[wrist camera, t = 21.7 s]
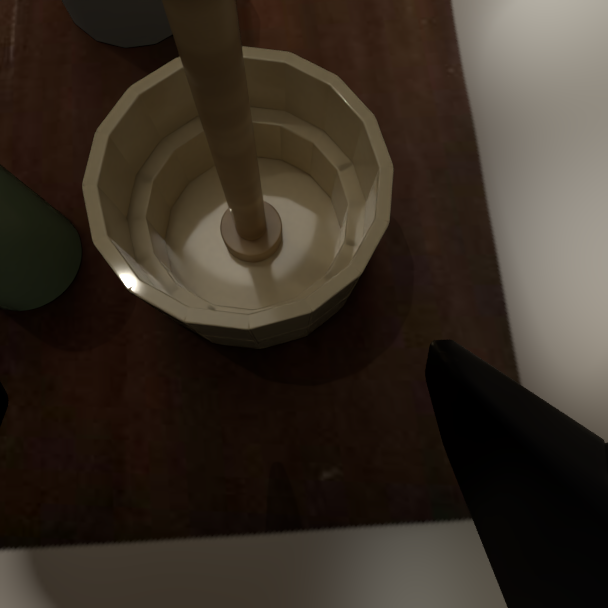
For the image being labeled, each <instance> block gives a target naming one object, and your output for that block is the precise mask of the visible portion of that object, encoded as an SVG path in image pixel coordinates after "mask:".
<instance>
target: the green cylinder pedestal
mask: <svg viewBox="0 0 608 608" xmlns="http://www.w3.org/2000/svg"><path fill="white" fill-rule="evenodd" d="M81 257H82V248H81V241H80V237H79V235H78V232H77V230H76V229H75V227H74V225H73V224H72V223H71V222H70V221H69V220H68V219H67V218H66V217H65V216H64V215H63V214H61V213H60V212H59V211H58V210H56V209H55V208H54V207H53V206H51V205H50V204H49V203H48V202H47V201H45V200H44V199H43V198H42V197H40V196H39V195H38V194H37V193H35V192H34V191H33V190H32V189H30V188H29V187H28V186H27V185H25V184H24V183H23V182H22V181H20V180H19V179H18V178H17V177H15V176H14V175H13V174H12V173H11V172H9V171H8V170H7V169H6V168H4V167H3V166H2V165H1V164H0V308H1V309H6V310H11V311H23V310H30V309H35V308H38V307H41V306H43V305H45V304H47V303H49V302H51V301H53V300H54V299H56V298H57V297H58V296H60V295H61V294H62V293H63V292H64V291H65V290H66V289H67V288H68V287H69V285H70V284H71V283H72V281H73V280H74V278H75V276H76V274H77V272H78V269H79V266H80V263H81Z"/></svg>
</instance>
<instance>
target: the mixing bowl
mask: <svg viewBox="0 0 608 608" xmlns="http://www.w3.org/2000/svg"><path fill="white" fill-rule="evenodd" d="M242 51H243V58H244V65H245V72H246V80H247V87H248V94H249V101H250V109H251V116H252V123H253V130H254V138H255V145H256V152H257V159H258V167H259V174H260V181H261V188H262V196H263V201H266V202H267V203H269V204H271V205H272V206H273V207H274V208H275V209H276V210H277V212H278V214H279V215H280V218H281V222H282V241H281V244H280V246H279V248H278V249H277V251H276V252H275V253H274V254H273V255H272V256H271V257H269V258H267V259H265V260H263V261H259V262H245V261H242V260H240V259H238V258H236V257H234V256H233V255H232V254H231V253H230V252H229V251H228V249H227V247H226V245H225V243H224V241H223V238H222V236H221V231H220V224H221V219H222V217H223V215H224V213H225V211H226V210H227V209H228V208H229V207H228V204H227V201H226V198H225V194H224V191H223V188H222V185H221V182H220V179H219V176H218V173H217V170H216V167H215V164H214V160H213V157H212V154H211V151H210V148H209V145H208V142H207V139H206V136H205V133H204V130H203V126H202V123H201V120H200V117H199V114H198V111H197V108H196V105H195V102H194V99H193V96H192V92H191V89H190V86H189V83H188V80H187V77H186V74H185V71H184V68H183V65H182V62H181V58H180V57H178V58H175V59H173V60H172V61H170V62H168V63H167V64H165V65H164V66H162V67H160V68H159V69H157V70H156V71H154V72H152V73H151V74H149V75H147V76H146V77H144V78H143V79H141V80H139V81H138V82H136V83H135V84H133V85H131V86H130V88H128V89H127V90H126V92H125V93H124V94H123V96H122V97H121V98H120V100H119V101H118V102H117V104H116V105H115V106H114V108H113V109H112V110H111V111H110V113H109V114H108V115H107V117H106V118H105V119H104V121H103V122H102V123H101V125H100V126H99V127H98V129H97V130H96V132H95V135H94V139H93V143H92V147H91V151H90V155H89V159H88V163H87V167H86V171H85V175H84V179H83V183H82V189H83V195H84V200H85V205H86V210H87V215H88V220H89V225H90V230H91V236H92V241H93V243H94V245H95V246H96V248H97V249H98V250H99V252H100V253H101V255H102V256H103V257H104V259H105V260H106V261H107V263H108V264H109V265H110V267H111V268H112V270H113V271H114V272H115V274H116V275H117V276H118V278H119V279H120V280H121V282H122V283H123V285H124V286H125V287H126V289H127V290H128V291H130V292H131V293H132V294H134V295H135V296H137V297H138V298H140V299H141V300H143V301H144V302H146V303H147V304H149V305H150V306H152V307H153V308H155V309H156V310H158V311H159V312H161V313H162V314H164V315H165V316H167V317H168V318H170V319H171V320H173V321H174V322H176V323H178V324H180V325H181V326H183V327H185V328H187V329H189V330H190V331H192V332H194V333H196V334H197V335H199V336H201V337H203V338H204V339H206V340H208V341H210V342H211V343H215V344H221V345H229V346H238V347H246V348H255V349H260V348H261V349H263V348H267V347H270V346H274V345H277V344H281V343H285V342H288V341H292V340H295V339H299V338H302V337H305V336H307V335H309V334H310V333H311V332H313V331H314V330H315V329H316V328H318V327H319V326H320V325H321V324H323V323H324V322H325V321H326V320H328V319H329V318H330V317H332V316H333V315H334V314H335V313H337V312H338V311H339V310H340V309H341V308H342V307H343V306H344V304H345V302H346V301H347V299H348V297H349V295H350V294H351V292H352V290H353V288H354V287H355V285H356V283H357V281H358V280H359V278H360V276H361V275H362V273H363V271H364V269H365V267H366V265H367V264H368V262H369V260H370V258H371V256H372V254H373V253H374V251H375V249H376V247H377V245H378V244H379V242H380V240H381V238H382V236H383V234H384V233H385V231H386V229H387V227H388V225H389V222H390V211H391V197H392V184H393V171H394V169H393V164H392V162H391V159H390V156H389V153H388V151H387V148H386V145H385V142H384V140H383V137H382V134H381V131H380V128H379V126H378V123H377V120H376V118H375V116H374V115H373V114H372V112H371V111H370V110H369V109H368V108H367V107H366V106H365V105H364V104H363V103H362V102H361V100H360V99H359V98H358V97H357V96H356V95H355V94H354V93H353V92H352V91H351V90H350V89H349V87H348V86H347V85H346V84H345V83H344V82H343V81H342V80H341V79H340V78H339V77H338V76H337V75H335V74H333V73H331V72H329V71H327V70H325V69H323V68H321V67H319V66H317V65H315V64H313V63H311V62H309V61H307V60H305V59H303V58H301V57H299V56H297V55H295V54H293V53H291V52H289V53H288V52H286V51H278V50H270V49H262V48H253V47H245V46H242Z"/></svg>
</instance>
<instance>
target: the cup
mask: <svg viewBox="0 0 608 608" xmlns="http://www.w3.org/2000/svg"><path fill="white" fill-rule="evenodd" d="M62 2H63V4H64V5H65V7H66V9H67V11H68V12H69V14H70V16H71V17H72V19H73V21H74V23H75V24H76V25H78V26H79V27H80V28H81V29H83V30H84V31H85V32H86V33H87V34H89V35H90V36H91V37H92V38H94V39H95V40H96V41H100V42H104V43H108V44H112V45H116V46H120V47H124V48H128V47H135V46H143V45H150V44H156V43H158V42H160V41H162V40H163V39H165V38H167V37H169V36H171V35H172V31H171V28H170V25H169V21H168V18H167V15H166V12H165V9H164V6H163V3H162V0H62Z"/></svg>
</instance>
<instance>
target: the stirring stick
mask: <svg viewBox="0 0 608 608" xmlns="http://www.w3.org/2000/svg"><path fill="white" fill-rule="evenodd" d="M162 3H163V6H164V9H165V12H166V15H167V18H168V21H169V25H170V28H171V31H172V34H173V37H174V40H175V43H176V46H177V49H178V52H179V55H180V58H181V62H182V65H183V68H184V71H185V74H186V77H187V80H188V83H189V86H190V89H191V92H192V96H193V99H194V102H195V105H196V108H197V111H198V114H199V117H200V120H201V123H202V126H203V130H204V133H205V136H206V139H207V142H208V145H209V148H210V151H211V154H212V157H213V160H214V164H215V167H216V170H217V173H218V176H219V179H220V182H221V185H222V188H223V191H224V194H225V198H226V201H227V204H228V207H229V208H228V209H227V210H226V211H225V213H224V215H223V217H222V219H221V224H220V231H221V236H222V238H223V241H224V243H225V245H226V247H227V249H228V251H229V252H230V253H231V254H232V255H233V256H234V257H236V258H238V259H240V260H242V261H245V262H259V261H263V260H265V259H267V258H269V257H271V256H272V255H273V254H274V253H275V252H276V251H277V249H278V248H279V246H280V244H281V241H282V222H281V218H280V215H279V214H278V212H277V210H276V209H275V208H274V207H273V206H272V205H271V204H269V203H267V202H266V201H263V196H262V188H261V181H260V174H259V167H258V159H257V152H256V145H255V138H254V130H253V123H252V116H251V109H250V101H249V94H248V87H247V80H246V72H245V65H244V58H243V51H242V43H241V36H240V29H239V22H238V14H237V7H236V0H162Z"/></svg>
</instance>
